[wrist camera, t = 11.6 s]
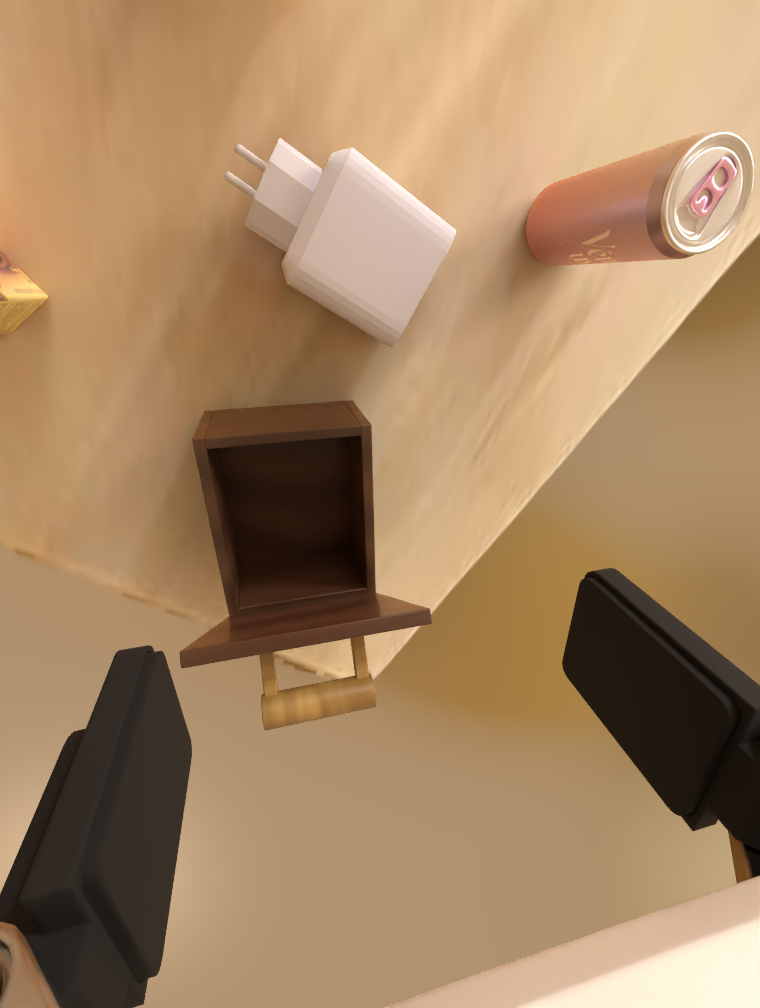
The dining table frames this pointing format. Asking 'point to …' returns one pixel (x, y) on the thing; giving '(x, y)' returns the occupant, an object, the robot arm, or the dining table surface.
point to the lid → (305, 629)
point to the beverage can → (646, 204)
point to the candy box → (16, 296)
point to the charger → (347, 235)
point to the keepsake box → (289, 503)
